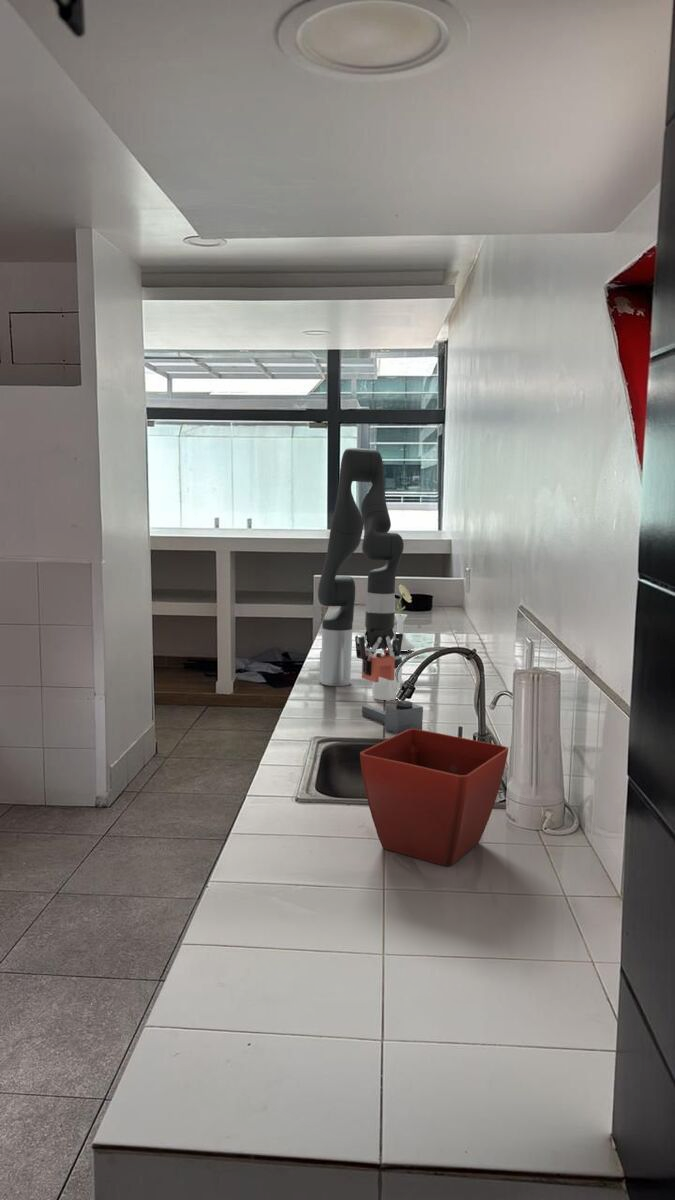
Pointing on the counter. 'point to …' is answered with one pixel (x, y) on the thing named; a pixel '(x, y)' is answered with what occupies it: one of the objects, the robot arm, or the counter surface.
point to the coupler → (397, 716)
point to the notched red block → (381, 667)
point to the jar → (387, 685)
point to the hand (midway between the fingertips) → (377, 673)
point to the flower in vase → (401, 617)
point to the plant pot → (431, 792)
